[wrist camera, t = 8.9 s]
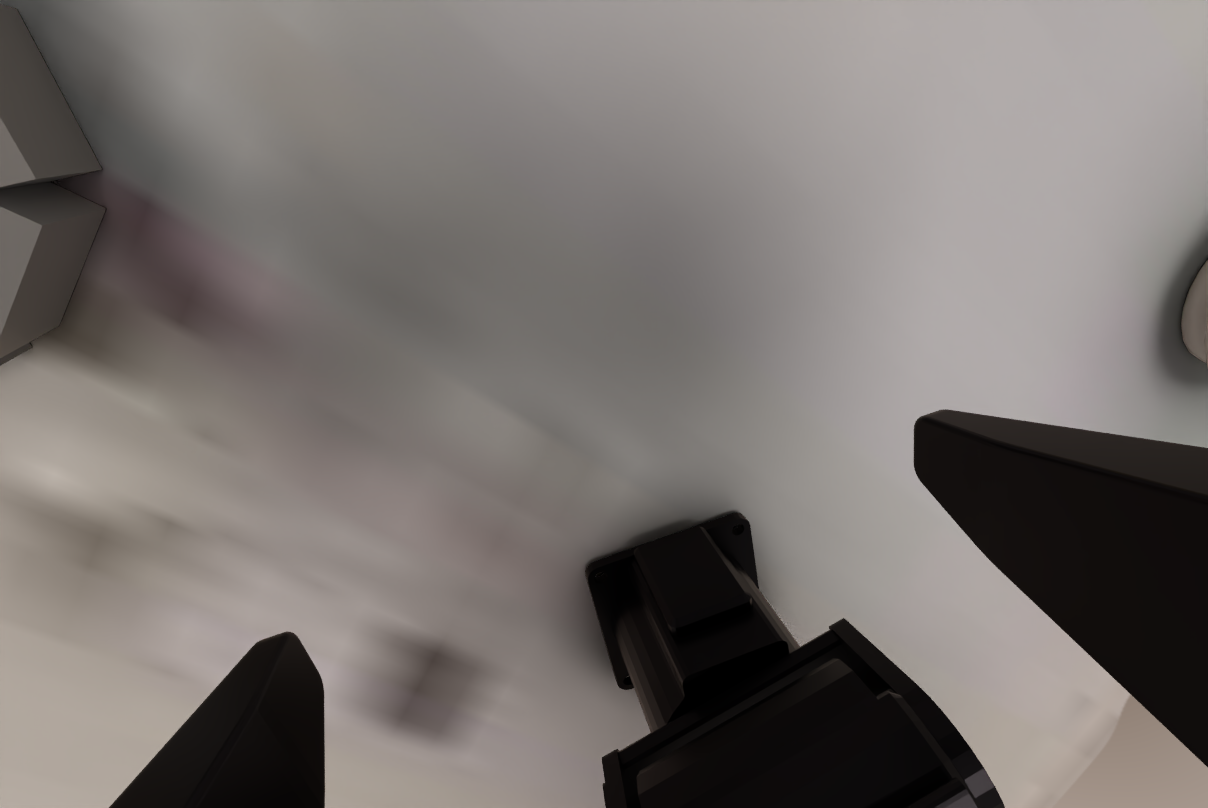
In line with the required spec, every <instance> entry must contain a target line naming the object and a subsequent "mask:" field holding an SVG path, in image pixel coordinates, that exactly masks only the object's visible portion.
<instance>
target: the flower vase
mask: <svg viewBox="0 0 1208 808" xmlns="http://www.w3.org/2000/svg"><path fill="white" fill-rule="evenodd" d="M1181 329H1182V337H1183V341H1184V343H1185V345H1186V347H1187V349H1188V351H1189V352H1190V353H1191V354H1193V355H1194V356H1195V357H1197V358H1198V359H1199V360H1201V361H1202V362H1205V363H1207V368H1208V260H1207V261H1206V263H1205V264H1204V265H1203V267H1202V268H1201V269H1200V271H1199V272H1198V274H1197V276H1196V278H1195V280H1194V282H1193V284H1192V285H1191V287H1190V289H1189V292H1188V295H1187V298H1186V301H1185V304H1184V307H1183V313H1182V320H1181Z"/></svg>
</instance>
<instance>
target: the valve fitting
mask: <svg viewBox="0 0 1208 808" xmlns="http://www.w3.org/2000/svg"><path fill="white" fill-rule="evenodd" d="M99 170H102V168H101V166H100V164H99V162H98V161H97V159H96V157H95V155H94V153H93V151H92V149H91V147H90V146H89V144H88V142H87V140H86V138H85V136H84V134H83V132H82V131H81V129H80V127H79V125H78V123H77V121H76V119H75V117H74V116H73V114H72V112H71V110H70V108H69V106H68V104H67V102H66V101H65V99H64V97H63V95H62V93H61V91H60V89H59V87H58V86H57V84H56V82H55V80H54V78H53V76H52V74H51V72H50V70H49V69H48V67H47V65H46V63H45V61H44V59H43V57H42V55H41V54H40V52H39V50H38V48H37V46H36V44H35V42H34V40H33V39H32V37H31V35H30V33H29V31H28V29H27V27H26V25H25V24H24V22H23V20H22V18H21V16H20V14H19V12H18V10H17V9H16V8H12V7H9V6H5V5H2V4H0V365H2V364H4V363H6V362H7V361H9V360H11V359H13V358H14V357H16V356H18V355H20V354H21V353H23V352H25V351H27V350H28V349H30V348H32V346H31V345H30V343H29V342H31V341H32V340H34V339H36V338H38V337H40V336H41V335H43V334H45V333H47V332H49V331H51V330H52V329H54V328H56V327H58V326H59V325H60V322H61V320H62V317H63V315H64V312H65V310H66V308H67V305H68V303H69V300H70V298H71V295H72V293H73V290H74V288H75V285H76V283H77V280H78V278H79V275H80V273H81V270H82V268H83V265H84V263H85V260H86V258H87V255H88V253H89V250H90V248H91V245H92V243H93V240H94V238H95V235H96V233H97V230H98V228H99V225H100V223H101V220H102V218H103V215H104V213H105V210H106V208H104V207H102V206H100V205H98V204H96V203H94V202H91V201H89V200H87V199H85V198H83V197H81V196H79V195H77V194H74V193H72V192H70V191H68V190H66V189H64V188H62V187H60V186H58V185H55V184H53V183H51V181H55V180H59V179H64V178H68V177H73V176H77V175H81V174H86V173H90V172H94V171H99Z"/></svg>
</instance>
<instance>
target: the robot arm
mask: <svg viewBox="0 0 1208 808" xmlns="http://www.w3.org/2000/svg"><path fill="white" fill-rule="evenodd" d="M914 468H915V472H916V474H917V476H918V478H919V480H920V481H921V482H922V484H923V485H924V486H925V487H926V488H927V489H928V491H929V492H930V493H931V494H932V495H933V496H934V497H935V499H936V500H937V501H938V502H939V503H940V504H941V506H942V507H943V508H944V509H945V510H946V511H947V512H948V514H949V515H950V516H951V517H952V518H953V519H954V521H955V522H956V523H957V524H958V525H959V526H960V527H961V529H962V530H963V531H964V532H965V533H966V534H967V536H968V537H969V538H970V539H971V540H972V541H973V542H974V544H975V545H976V546H977V547H978V548H979V549H980V550H981V551H982V552H983V553H984V555H985V556H986V557H987V558H988V559H989V560H990V561H991V562H992V563H993V564H994V565H995V566H996V567H997V568H998V569H999V570H1000V571H1001V572H1002V573H1003V574H1004V575H1006V576H1007V577H1008V578H1009V579H1010V580H1011V581H1012V582H1013V583H1014V584H1015V585H1016V586H1017V587H1018V588H1019V589H1020V590H1021V591H1022V592H1023V593H1025V594H1026V595H1027V596H1028V597H1029V598H1030V599H1031V600H1032V601H1033V602H1034V603H1035V604H1036V605H1037V606H1038V607H1039V608H1040V609H1041V610H1042V611H1043V612H1045V613H1046V614H1047V615H1048V616H1049V617H1050V618H1051V619H1052V620H1053V621H1054V622H1055V623H1056V624H1057V625H1058V626H1059V627H1060V628H1061V629H1062V630H1064V631H1065V632H1066V633H1067V634H1068V635H1069V636H1070V637H1071V638H1072V639H1073V640H1074V641H1075V642H1076V643H1077V644H1078V645H1079V646H1080V647H1081V648H1083V649H1084V650H1085V651H1086V652H1087V653H1088V654H1089V655H1090V656H1091V657H1092V658H1093V659H1094V660H1095V661H1096V662H1097V663H1098V664H1099V665H1100V666H1101V667H1103V668H1104V669H1105V670H1106V671H1107V672H1108V673H1109V674H1110V675H1111V676H1112V677H1113V678H1114V679H1115V680H1116V681H1117V682H1118V683H1119V684H1120V685H1122V686H1123V687H1124V688H1125V689H1126V690H1127V691H1128V692H1129V693H1130V694H1131V695H1132V696H1133V697H1134V698H1135V699H1136V700H1137V701H1138V702H1140V703H1141V704H1142V705H1143V706H1144V707H1145V708H1146V709H1147V710H1148V711H1149V712H1150V713H1151V714H1152V715H1153V716H1154V717H1155V718H1156V719H1157V720H1159V721H1160V722H1161V723H1162V724H1163V725H1164V726H1165V727H1166V728H1167V729H1168V730H1169V731H1170V732H1171V733H1172V734H1173V735H1174V736H1175V737H1176V738H1178V740H1180V741H1181V742H1182V743H1183V744H1184V745H1185V746H1186V747H1187V748H1188V749H1189V750H1190V751H1191V752H1192V753H1193V754H1195V756H1196V757H1197V758H1199V759H1200V760H1201V761H1202V762H1203V763H1204V764H1205V765H1206V766H1207V767H1208V448H1204V447H1197V446H1190V445H1183V444H1177V443H1170V442H1163V441H1156V440H1150V439H1143V438H1136V437H1129V436H1122V435H1116V434H1109V433H1102V432H1095V431H1089V430H1082V429H1075V428H1068V427H1062V426H1055V425H1048V424H1041V423H1035V422H1028V421H1021V420H1014V419H1007V418H1001V417H994V416H987V415H980V414H974V413H967V412H960V411H953V410H939V411H936V412H933V413H930V414H927V415H924V416H921V417H920V418H918V419H917V421H916V423H915V425H914ZM737 524H739V526H738V527H737V528H735V529H733V527H734V526H735V525H737ZM600 572H604V574H603V575H601V576H599V577H595V576H596V574H598V573H600ZM585 575H586V579H587V582H588V586H589V589H590V593H591V596H592V600H593V603H594V606H595V610H596V613H597V617H598V620H599V624H600V627H601V631H602V634H603V637H604V641H605V644H606V648H607V651H608V655H609V658H610V662H611V665H612V669H613V672H614V675H615V679H616V681H617V684H618V686H619V688H621V689H624V690H628V689H632V688H634V689H635V691H636V694H637V697H638V699H639V702H640V705H641V707H642V710H643V712H644V715H645V718H646V720H647V723H648V726H649V728H650V731H651V733H650V734H648V735H647V736H645V737H643V738H642V739H640V740H638V741H636V742H635V743H633V744H631V745H629V746H628V747H626V748H624V749H622V750H621V751H619V750H618V749H616V750H614V751H613V752H611V753H609V754H607V755H606V756H604V757H602V763H603V771H604V778H605V783H603V791H604V798H605V806H606V808H1005V807H1004V804H1003V802H1002V800H1001V798H1000V796H999V794H998V792H997V790H996V788H995V786H994V784H993V783H992V781H991V779H990V777H989V776H988V774H987V772H986V771H985V769H984V767H983V766H982V764H981V763H980V761H979V760H978V758H977V757H976V755H975V754H974V752H973V751H972V749H971V748H970V747H969V745H968V744H967V743H966V741H965V740H964V738H963V737H962V736H961V734H960V733H959V732H958V730H957V729H956V728H955V726H954V725H953V724H952V723H951V721H950V720H949V719H948V718H947V716H946V715H945V714H944V713H943V712H942V710H941V709H940V708H939V707H938V706H937V705H936V704H935V702H934V701H933V700H932V699H931V698H930V697H929V696H928V695H927V694H926V693H925V692H924V691H923V690H922V689H921V688H920V687H919V686H918V685H917V684H916V683H915V682H914V681H913V680H911V679H910V678H909V677H908V676H907V675H906V674H905V673H904V672H903V671H902V670H900V669H899V668H898V667H897V666H896V665H895V664H894V663H893V662H892V661H891V660H889V659H888V658H887V657H886V656H885V655H884V654H883V653H882V652H881V651H880V650H878V649H877V648H876V647H875V646H874V645H873V644H872V643H871V642H870V641H869V640H867V639H866V638H865V637H864V636H863V635H862V634H861V633H860V632H859V631H858V630H856V629H855V628H854V627H853V626H852V625H851V624H850V623H849V622H848V621H847V620H845V619H844V618H843V619H841V620H839V621H838V622H836V623H834V624H833V625H831V626H829V629H830V630H829V631H827V632H825V633H823V634H822V635H820V636H818V637H816V638H815V639H813V640H811V641H809V642H808V643H806V644H804V645H803V646H801V647H800V646H799V644H798V643H797V642H796V640H795V639H794V638H793V636H792V635H791V633H790V632H789V631H788V629H787V628H786V627H785V625H784V624H783V622H782V621H781V620H780V618H779V617H778V615H777V614H776V613H775V611H774V610H773V609H772V607H771V606H770V604H769V603H768V602H767V600H766V599H765V598H764V596H763V595H762V593H761V592H760V591H759V587H758V580H757V573H756V565H755V558H754V550H753V543H752V535H751V528H750V524H749V522H748V520H747V519H746V518H745V517H744V516H743V515H742V514H741V513H732V514H729V515H726V516H723V517H720V518H718V519H715V520H712V521H709V522H706V523H703V524H700V525H697V526H694V527H692V528H689V529H686V530H683V531H680V532H677V533H674V534H671V535H669V536H666V537H663V538H660V539H657V540H654V541H651V542H648V543H646V544H643V545H640V546H637V547H634V548H631V549H628V550H625V551H622V552H620V553H617V554H614V555H611V556H608V557H605V558H602V559H599V560H597V561H594V562H592V563H591V564H590V565H589V566H588V567H587V569H586V571H585ZM627 676H629V677H627ZM625 677H626V678H625ZM109 808H325V746H324V688H323V683H322V679H321V676H320V674H319V672H318V670H317V669H316V667H315V665H314V664H313V662H312V660H311V658H310V657H309V655H308V653H307V652H306V650H305V648H304V646H303V645H302V643H301V641H300V640H299V638H298V637H297V636H296V635H295V634H294V633H292V632H284V633H281V634H278V635H275V636H272V637H269V638H266V639H263V640H260V641H259V642H257V643H256V644H255V645H254V646H253V647H252V648H251V649H250V650H249V651H248V652H247V654H246V655H245V656H244V657H243V658H242V659H241V660H240V661H239V662H238V664H237V665H236V666H235V667H234V668H233V669H232V670H231V671H230V673H229V674H228V675H227V676H226V677H225V678H224V679H223V680H222V682H221V683H220V684H219V685H218V686H217V687H216V688H215V689H214V691H213V692H212V693H211V694H210V695H209V696H208V697H207V698H206V700H205V701H204V702H203V703H202V704H201V705H200V706H199V707H198V708H197V710H196V711H195V712H194V713H193V714H192V715H191V716H190V717H189V719H188V720H187V721H186V722H185V723H184V724H183V725H182V726H181V728H180V729H179V730H178V731H177V732H176V733H175V734H174V735H173V737H172V738H171V739H170V740H169V741H168V742H167V743H166V744H165V745H164V747H163V748H162V749H161V750H160V751H159V752H158V753H157V754H156V756H155V757H154V758H153V759H152V760H151V761H150V762H149V763H148V765H147V766H146V767H145V768H144V769H143V770H142V771H141V772H140V773H139V775H138V776H137V777H136V778H135V779H134V780H133V781H132V782H131V784H130V785H129V786H128V787H127V788H126V789H125V790H124V791H123V793H122V794H121V795H120V796H119V797H118V798H117V799H116V800H115V802H114V803H113V804H112V805H111V806H110V807H109Z"/></svg>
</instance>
